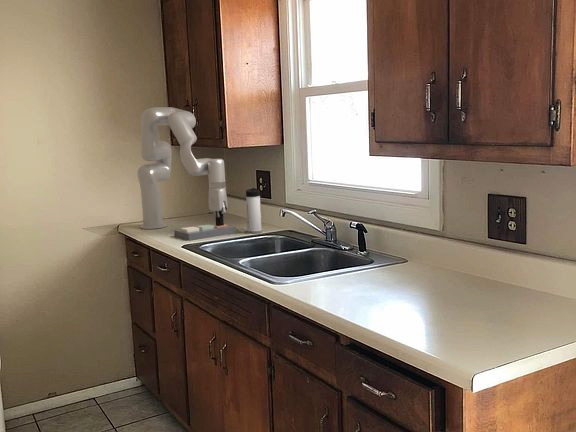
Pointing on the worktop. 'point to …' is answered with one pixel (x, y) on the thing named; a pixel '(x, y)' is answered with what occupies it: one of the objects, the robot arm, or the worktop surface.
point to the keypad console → (205, 233)
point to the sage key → (205, 227)
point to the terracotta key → (220, 226)
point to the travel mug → (253, 210)
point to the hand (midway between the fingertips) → (219, 225)
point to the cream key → (189, 229)
